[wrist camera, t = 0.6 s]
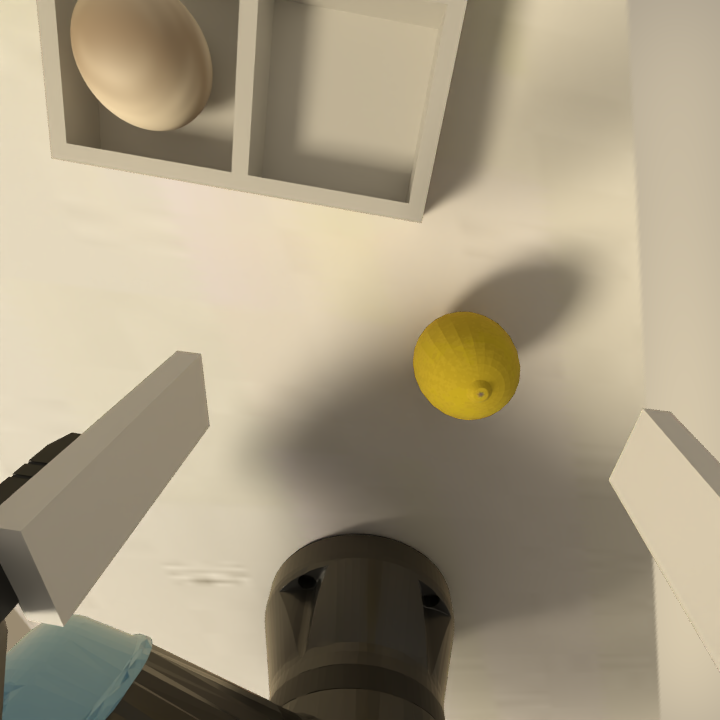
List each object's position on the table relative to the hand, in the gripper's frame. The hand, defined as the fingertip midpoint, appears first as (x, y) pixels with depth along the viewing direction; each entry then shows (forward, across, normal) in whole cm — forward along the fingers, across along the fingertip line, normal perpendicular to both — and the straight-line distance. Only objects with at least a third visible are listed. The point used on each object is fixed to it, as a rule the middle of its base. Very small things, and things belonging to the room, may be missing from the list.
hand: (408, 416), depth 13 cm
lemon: (+14, -3, +4) cm, 15 cm away
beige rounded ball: (+14, +13, -10) cm, 21 cm away
